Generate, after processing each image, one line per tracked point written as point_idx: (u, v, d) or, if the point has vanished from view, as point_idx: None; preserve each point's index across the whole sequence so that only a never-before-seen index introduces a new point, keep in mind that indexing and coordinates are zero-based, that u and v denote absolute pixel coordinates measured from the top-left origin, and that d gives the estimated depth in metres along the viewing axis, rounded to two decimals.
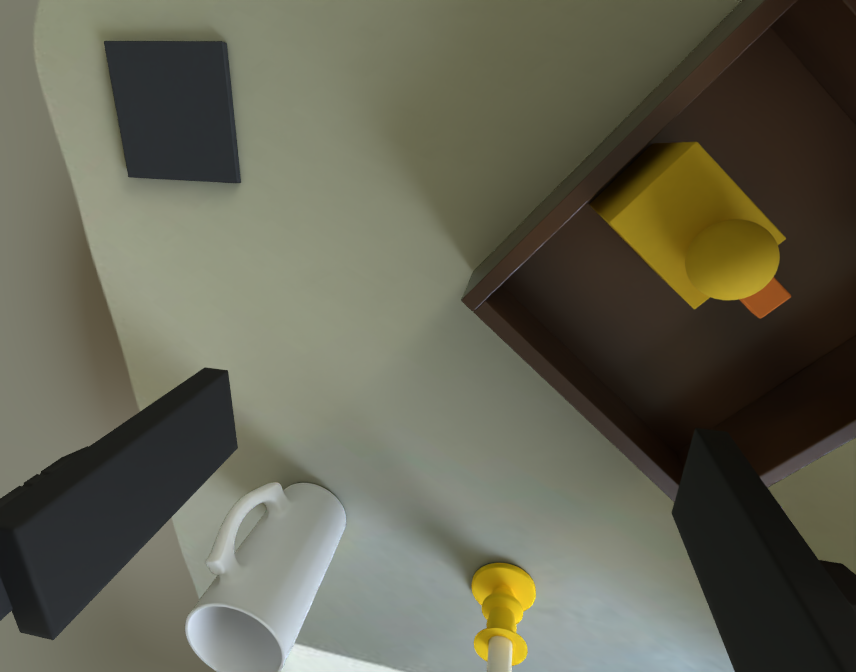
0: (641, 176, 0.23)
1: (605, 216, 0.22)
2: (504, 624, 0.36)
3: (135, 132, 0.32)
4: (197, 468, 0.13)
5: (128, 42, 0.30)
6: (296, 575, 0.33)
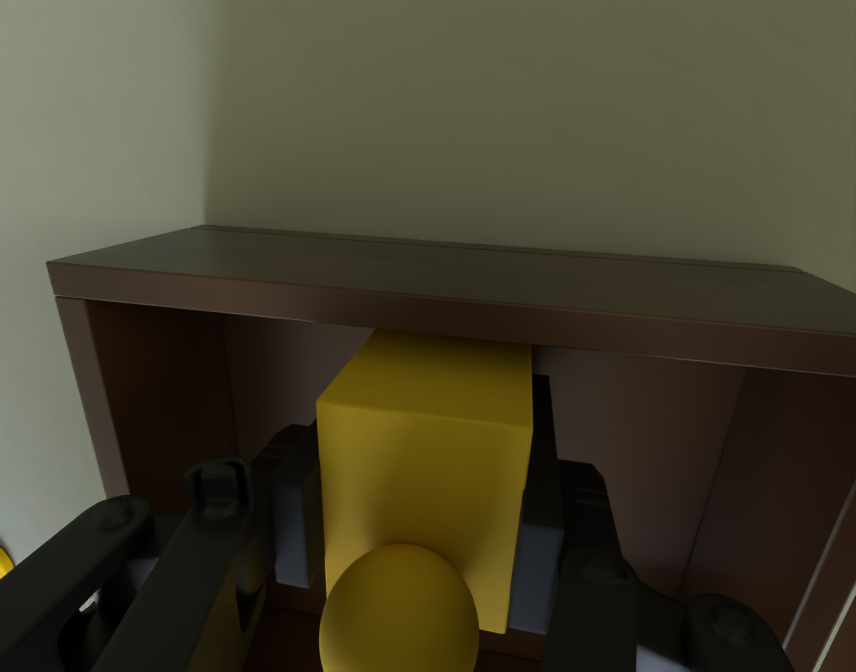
0: (448, 362, 0.12)
1: (342, 371, 0.11)
2: None
3: None
4: None
5: None
6: None
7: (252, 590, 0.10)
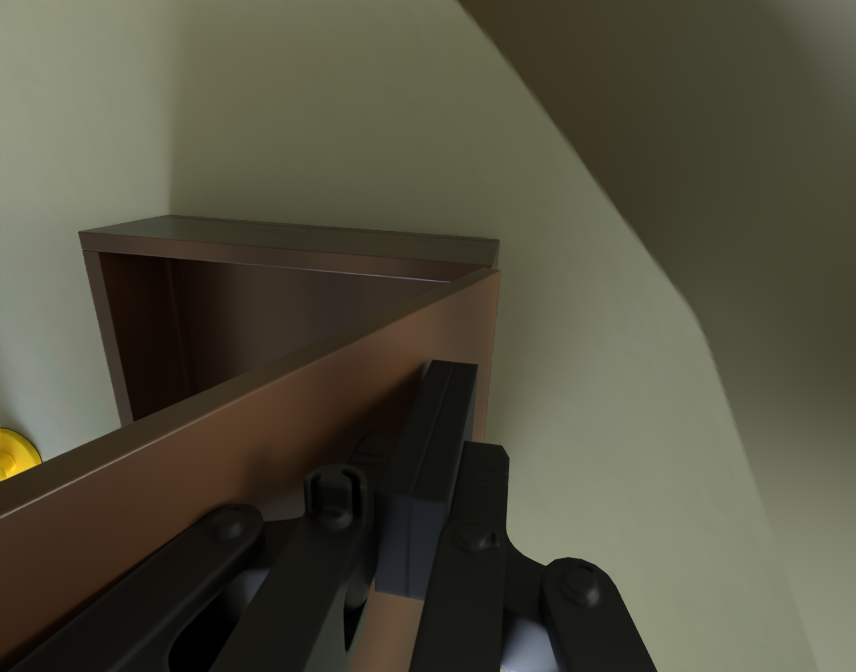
0: None
1: None
2: None
3: None
4: None
5: None
6: None
7: (361, 600, 0.09)
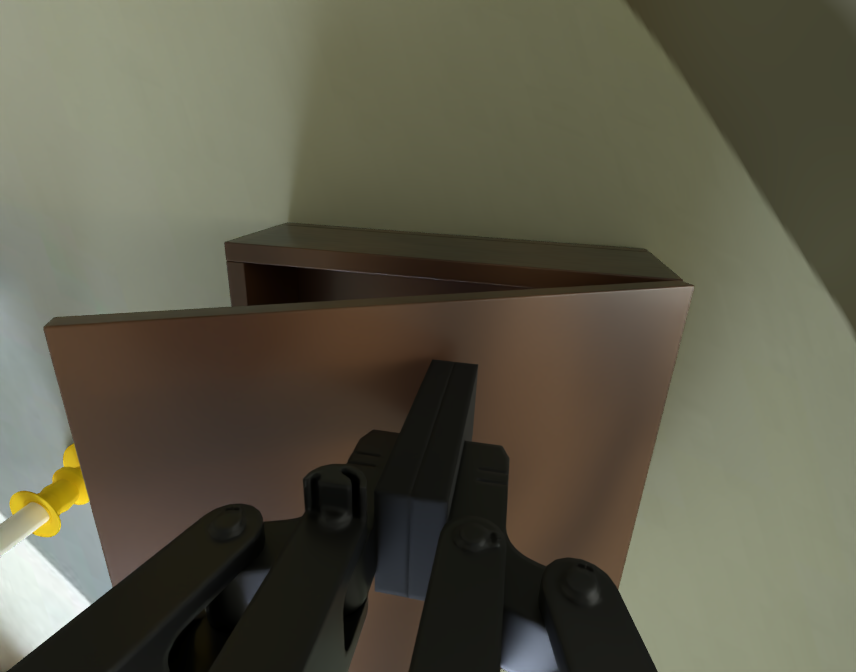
0: None
1: None
2: (57, 500, 0.34)
3: None
4: None
5: None
6: None
7: (361, 601, 0.09)
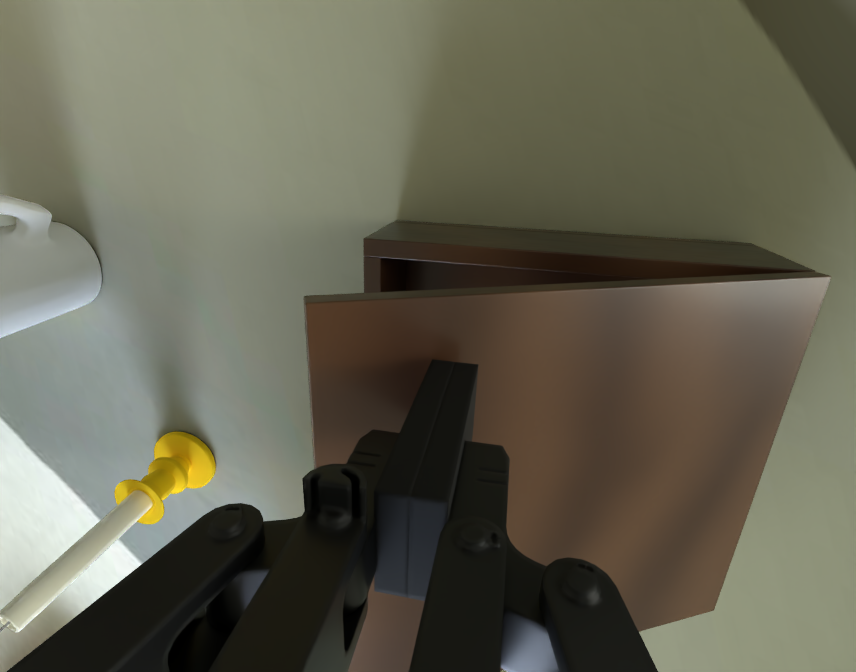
0: None
1: None
2: (159, 488, 0.35)
3: None
4: None
5: None
6: None
7: (361, 600, 0.09)
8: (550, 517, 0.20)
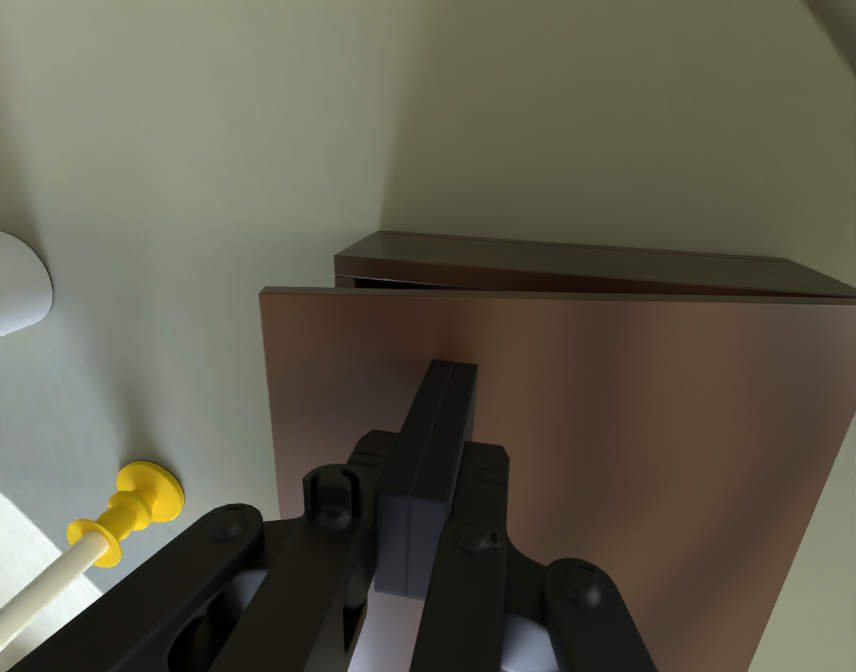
0: None
1: None
2: (117, 527, 0.32)
3: None
4: None
5: None
6: None
7: (361, 601, 0.09)
8: (526, 540, 0.19)
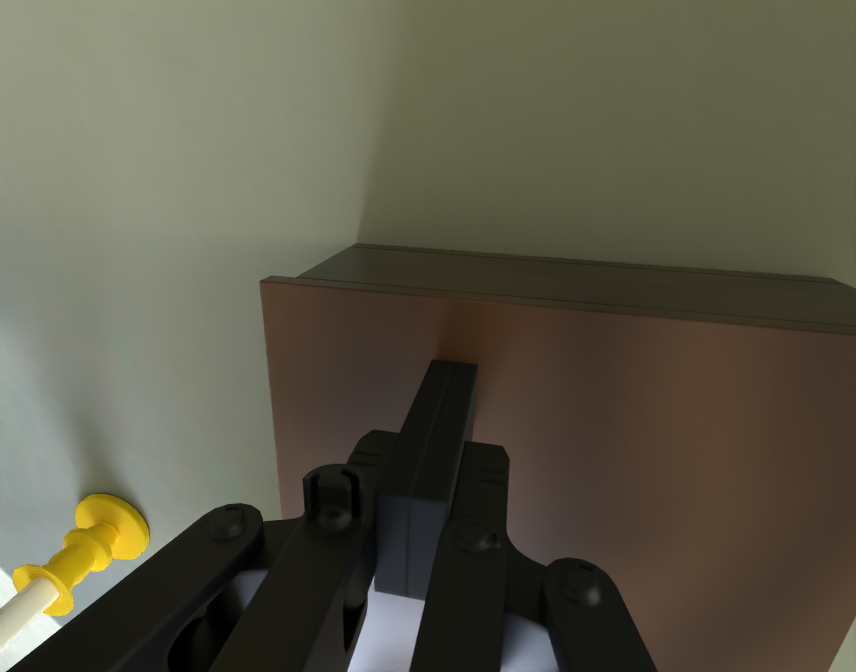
0: None
1: None
2: (70, 572, 0.28)
3: None
4: None
5: None
6: None
7: (361, 600, 0.09)
8: None
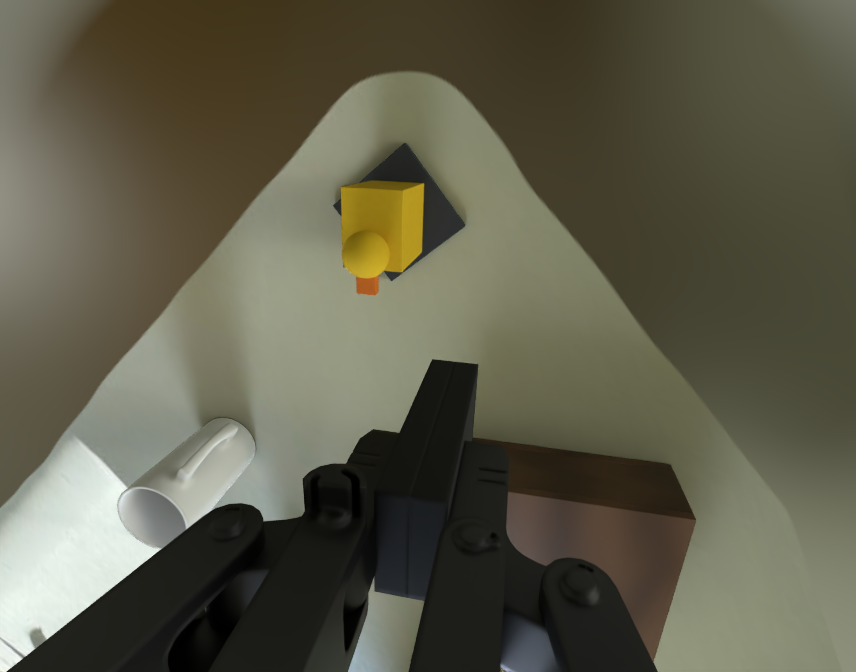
0: (384, 185, 0.35)
1: (348, 185, 0.34)
2: None
3: None
4: None
5: (417, 162, 0.38)
6: (213, 499, 0.45)
7: (361, 601, 0.09)
8: None
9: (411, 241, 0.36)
